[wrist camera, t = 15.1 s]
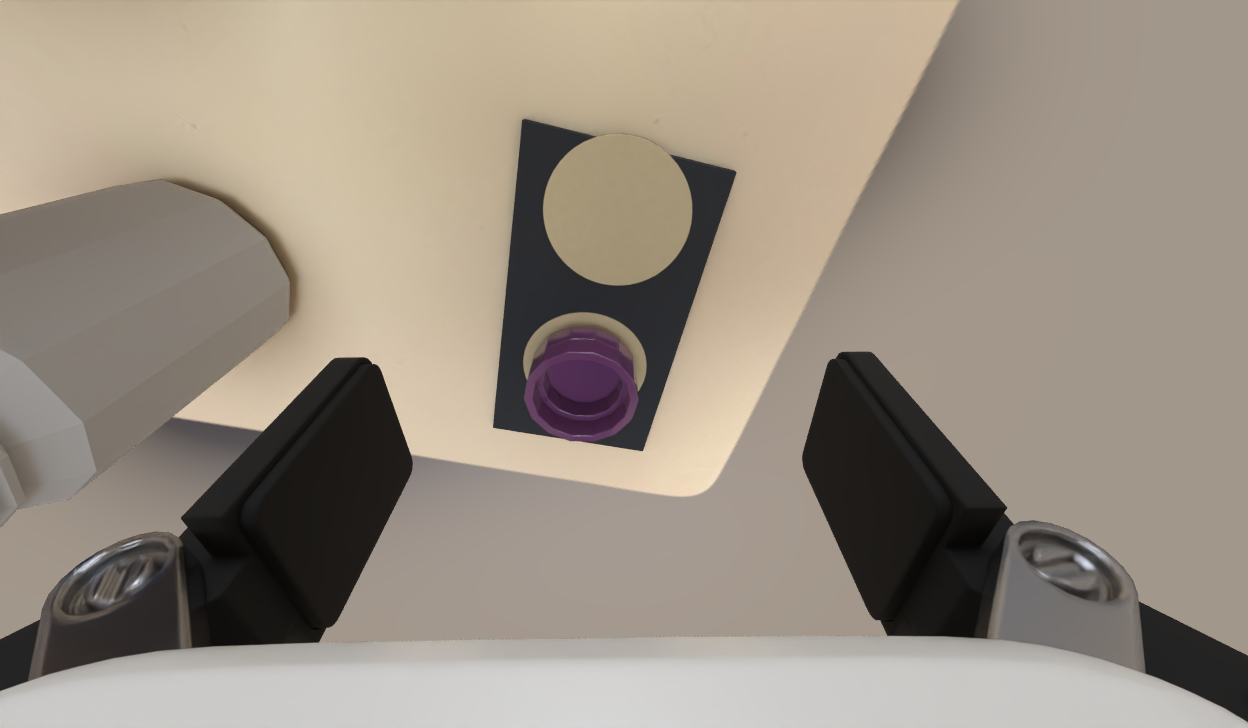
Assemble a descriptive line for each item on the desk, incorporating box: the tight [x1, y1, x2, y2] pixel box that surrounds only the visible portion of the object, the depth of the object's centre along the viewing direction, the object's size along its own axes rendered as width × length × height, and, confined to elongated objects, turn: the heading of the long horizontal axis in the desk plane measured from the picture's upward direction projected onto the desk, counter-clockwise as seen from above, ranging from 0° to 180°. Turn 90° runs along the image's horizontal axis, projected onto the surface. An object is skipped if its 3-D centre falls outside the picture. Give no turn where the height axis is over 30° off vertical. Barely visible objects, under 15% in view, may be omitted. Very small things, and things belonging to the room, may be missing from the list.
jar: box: [0, 179, 290, 527], centre depth 19 cm, size 10×10×18 cm
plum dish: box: [524, 327, 638, 441], centre depth 29 cm, size 7×7×3 cm
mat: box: [493, 119, 736, 451], centre depth 28 cm, size 20×11×1 cm, turn 167°
